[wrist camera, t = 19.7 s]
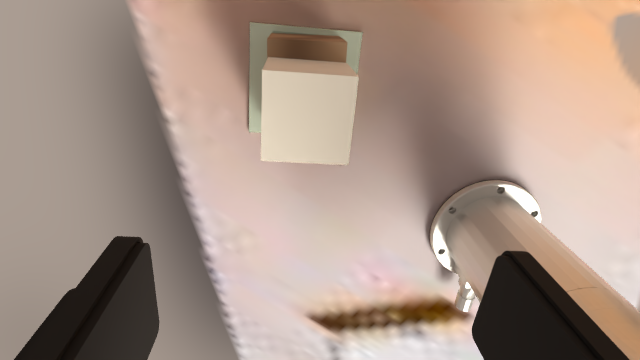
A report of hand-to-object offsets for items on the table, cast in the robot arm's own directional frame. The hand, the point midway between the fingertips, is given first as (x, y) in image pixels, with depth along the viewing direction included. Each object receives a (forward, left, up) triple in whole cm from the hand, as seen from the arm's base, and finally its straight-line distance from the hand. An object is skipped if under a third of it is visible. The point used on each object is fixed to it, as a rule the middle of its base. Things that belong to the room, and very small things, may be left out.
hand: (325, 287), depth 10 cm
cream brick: (0, 0, -22) cm, 22 cm away
